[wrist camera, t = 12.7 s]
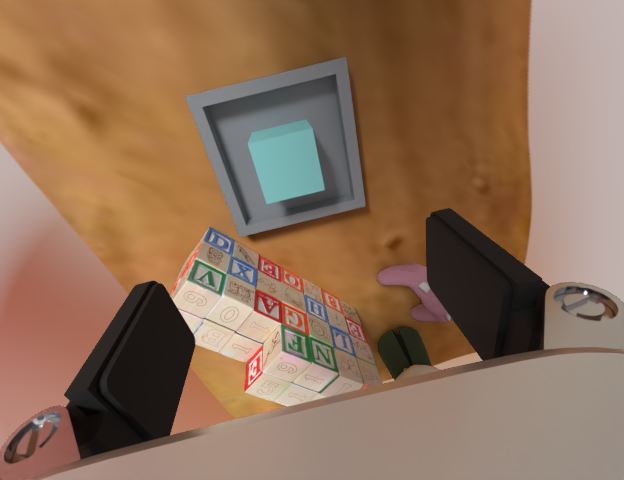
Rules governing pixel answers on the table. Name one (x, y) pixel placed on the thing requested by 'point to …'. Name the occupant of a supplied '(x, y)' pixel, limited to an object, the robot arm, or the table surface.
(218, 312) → the stack of blocks
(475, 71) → the table surface
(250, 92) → the tray
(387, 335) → the character mug
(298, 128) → the cube
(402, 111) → the table surface
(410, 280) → the purple elongated lump
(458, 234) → the robot arm
